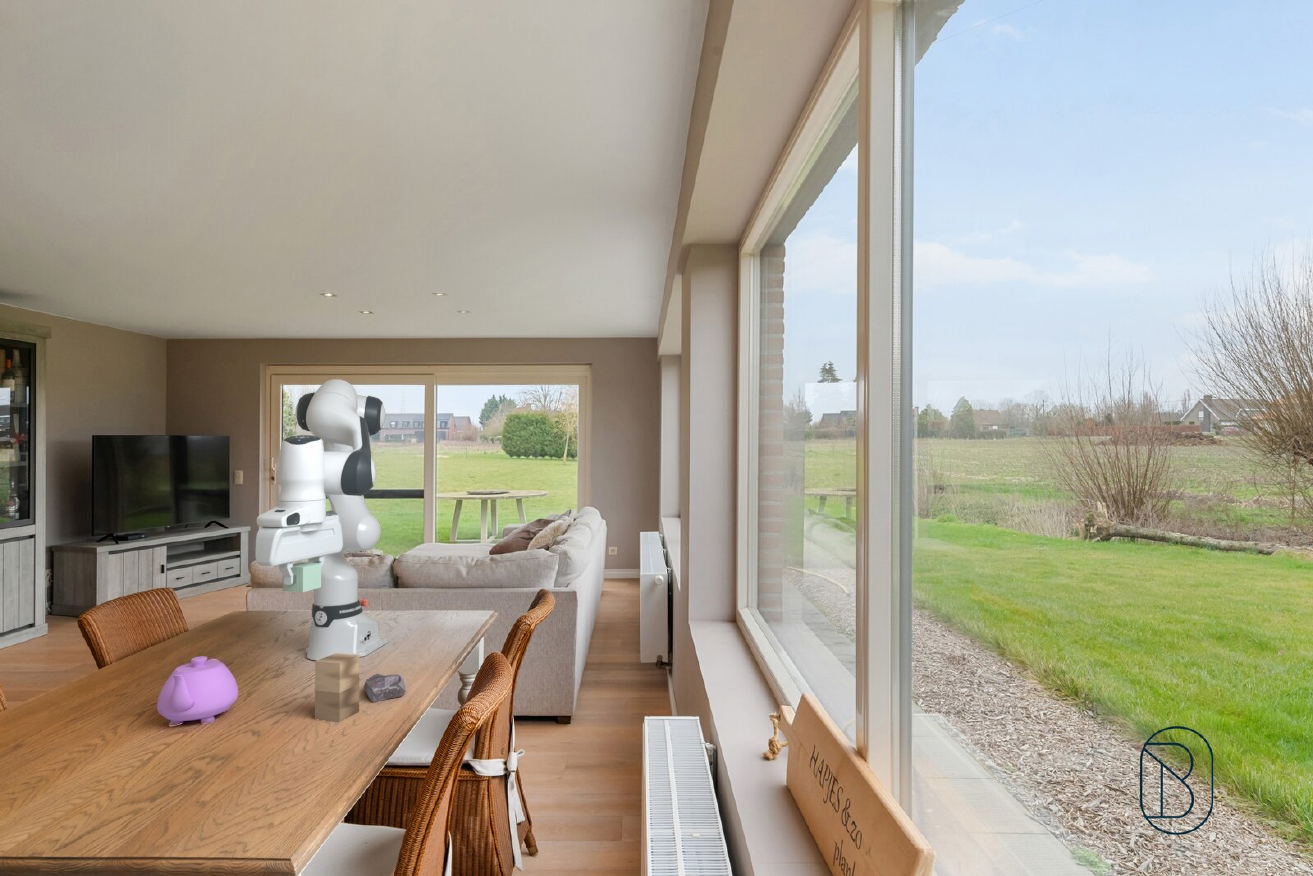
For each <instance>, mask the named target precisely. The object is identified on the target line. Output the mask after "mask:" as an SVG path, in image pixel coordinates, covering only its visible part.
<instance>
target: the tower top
mask: <svg viewBox="0 0 1313 876" xmlns="http://www.w3.org/2000/svg"><path fill="white" fill-rule="evenodd" d="M314 661H315V662H314V674H315V675H314V691H315V690H316V691H326V692H336V693H340V692H343V691H345V690H347V689H349V688H351V687H353V686H355V685H357V684H359V685H360V657H359V655H351V654H339V653H335V654H332V655H330V656H327V657H325V658H322V659H320V660H314Z"/></svg>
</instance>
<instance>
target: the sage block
mask: <svg viewBox="0 0 1313 876" xmlns="http://www.w3.org/2000/svg"><path fill="white" fill-rule="evenodd" d="M291 570H292V573H293V575H296V583H295V584H292V585H285V584H284V576H283V575H282V592H291V593H293V592H294V593H305V592H308V591H312V590H313V591H314V589H317V588H321V563H309V562H303V561H302V562H298V563H296V562H295V563H293V567H292V568H291Z"/></svg>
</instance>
